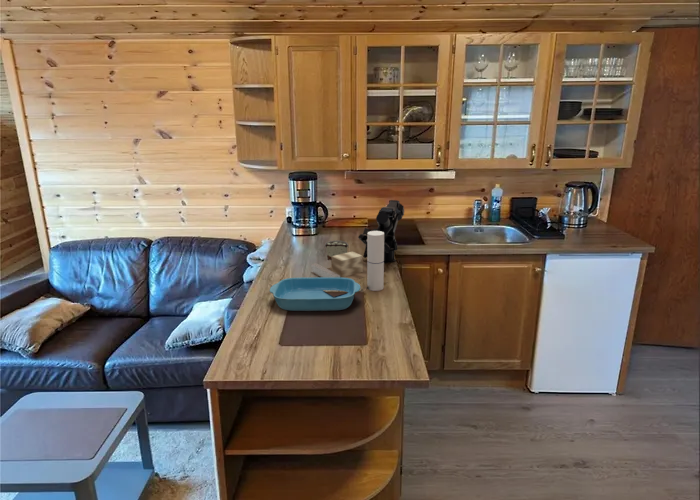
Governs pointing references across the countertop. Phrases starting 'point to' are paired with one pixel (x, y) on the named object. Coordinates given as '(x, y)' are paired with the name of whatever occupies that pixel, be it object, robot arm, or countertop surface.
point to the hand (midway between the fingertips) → (364, 257)
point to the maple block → (347, 264)
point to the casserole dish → (314, 293)
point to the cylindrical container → (375, 260)
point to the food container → (335, 248)
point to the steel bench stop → (322, 271)
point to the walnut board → (354, 276)
